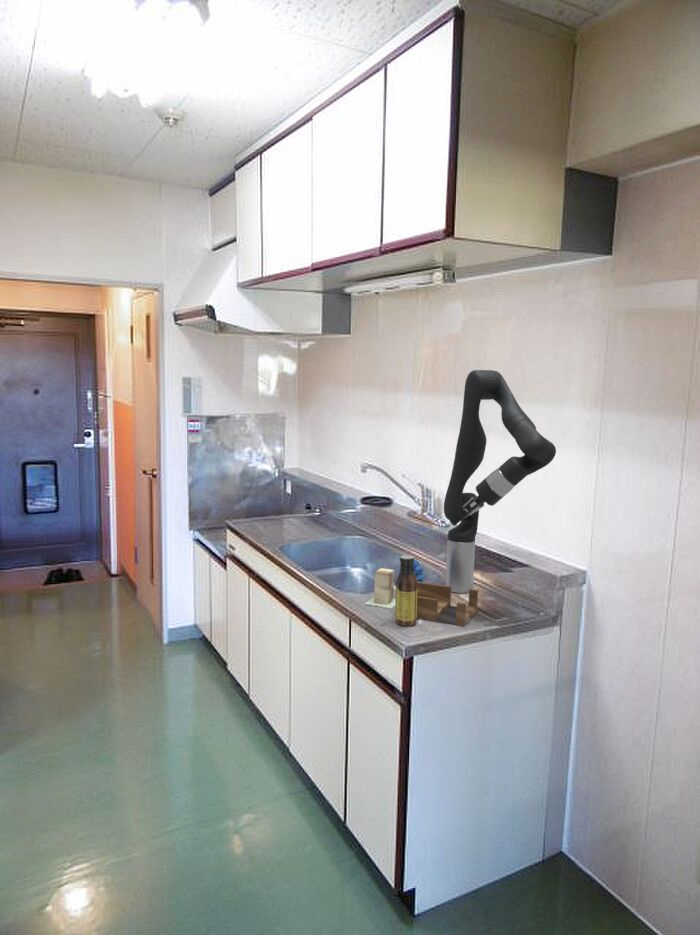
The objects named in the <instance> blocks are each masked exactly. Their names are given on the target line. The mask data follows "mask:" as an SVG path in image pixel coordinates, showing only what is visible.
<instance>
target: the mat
mask: <svg viewBox="0 0 700 935" xmlns="http://www.w3.org/2000/svg"><path fill="white" fill-rule="evenodd" d="M364 605H365V606H369V605H371V606H370V607H375V606H377V607H376V608H381V607H382V608H383V609H387V610H393V609H394V608H395V607H396V598H393V601H392V602H391V603H389V604H388V605H384V604H378V603H374V596H373V597H372V598H370V599H369V600H368V601H366V602H365V603H364Z"/></svg>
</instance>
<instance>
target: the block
mask: <svg viewBox="0 0 700 935" xmlns="http://www.w3.org/2000/svg"><path fill="white" fill-rule="evenodd" d="M394 581H395V570H394V569H391V568H382V567H381V568H378V569H377V570H376V571H374V590H373V591H374V592H373V595H374V596H373V597H374V603H378V604H384V605H388V604H389V603H391V602H392V601H393V599H394V589H395V588H394V587H395V586H394V585H395V584H394V583H395V582H394Z"/></svg>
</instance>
